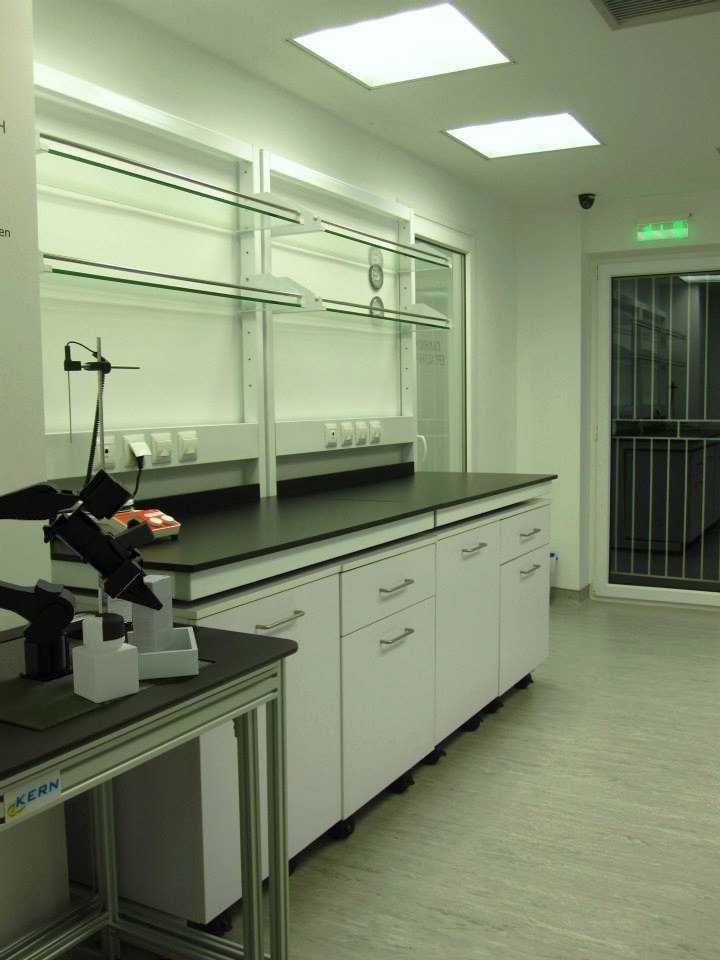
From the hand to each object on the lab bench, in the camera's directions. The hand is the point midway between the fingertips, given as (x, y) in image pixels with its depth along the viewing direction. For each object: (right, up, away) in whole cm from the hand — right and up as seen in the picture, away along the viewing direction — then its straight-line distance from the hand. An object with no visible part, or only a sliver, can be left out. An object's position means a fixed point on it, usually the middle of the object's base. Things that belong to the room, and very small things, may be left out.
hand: (160, 603), depth 150 cm
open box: (0, -10, +1) cm, 10 cm away
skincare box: (-1, -8, 0) cm, 8 cm away
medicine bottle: (-5, -12, -14) cm, 19 cm away
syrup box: (-15, -8, +29) cm, 34 cm away
